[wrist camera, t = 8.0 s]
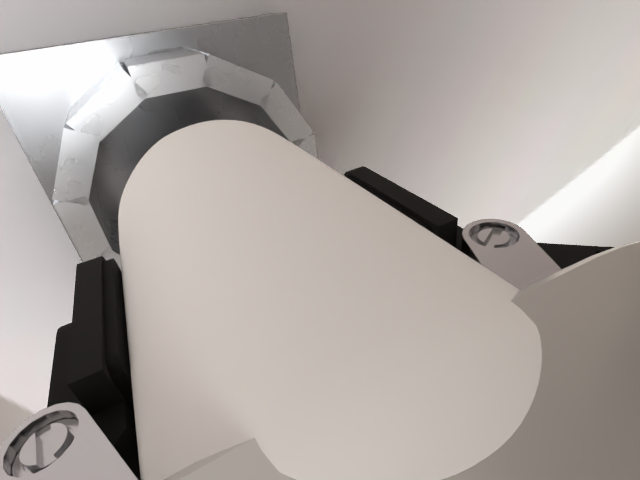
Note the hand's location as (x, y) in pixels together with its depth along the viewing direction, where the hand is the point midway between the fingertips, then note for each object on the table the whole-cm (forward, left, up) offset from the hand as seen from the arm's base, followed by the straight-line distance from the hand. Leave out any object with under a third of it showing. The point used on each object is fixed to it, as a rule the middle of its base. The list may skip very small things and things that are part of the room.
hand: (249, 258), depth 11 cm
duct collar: (0, 0, -9) cm, 9 cm away
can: (0, 0, -3) cm, 3 cm away
